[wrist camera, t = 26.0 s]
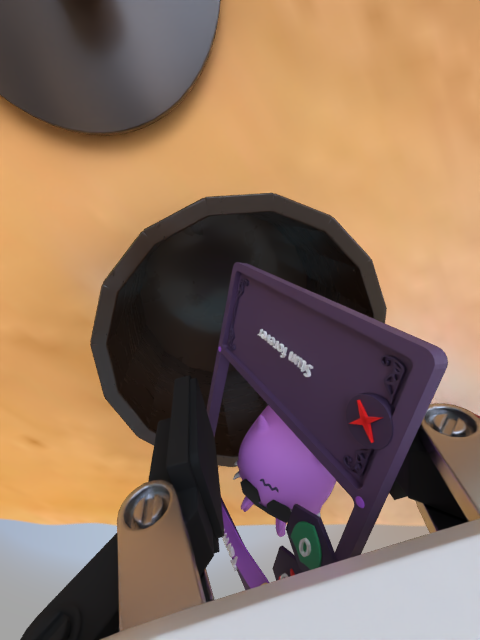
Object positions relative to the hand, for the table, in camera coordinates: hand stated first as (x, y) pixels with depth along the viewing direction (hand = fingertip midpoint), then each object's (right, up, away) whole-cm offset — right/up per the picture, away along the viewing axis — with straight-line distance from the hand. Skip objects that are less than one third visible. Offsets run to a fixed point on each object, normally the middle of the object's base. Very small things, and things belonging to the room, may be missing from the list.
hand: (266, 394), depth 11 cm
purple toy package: (0, 0, +1) cm, 1 cm away
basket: (-2, +4, +12) cm, 13 cm away
